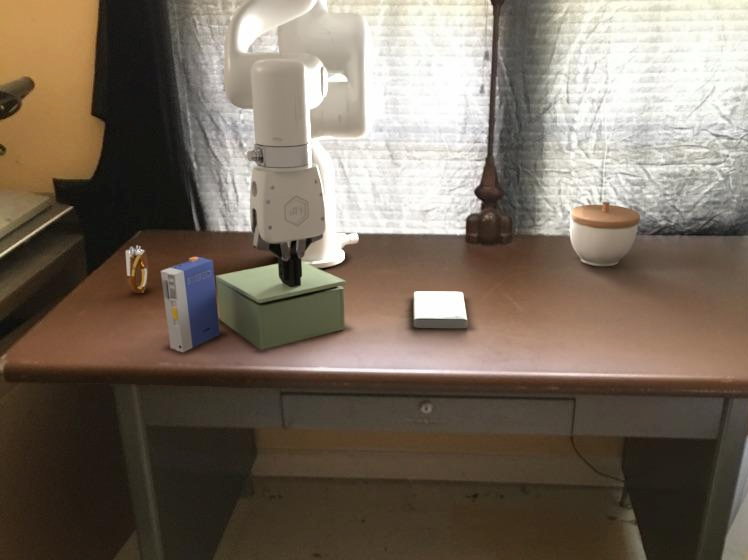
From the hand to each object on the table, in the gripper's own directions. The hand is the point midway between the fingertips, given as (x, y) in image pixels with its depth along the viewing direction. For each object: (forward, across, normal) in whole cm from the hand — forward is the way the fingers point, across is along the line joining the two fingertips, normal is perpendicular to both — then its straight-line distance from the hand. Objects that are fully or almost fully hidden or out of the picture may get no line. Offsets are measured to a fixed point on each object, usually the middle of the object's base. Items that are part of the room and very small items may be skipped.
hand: (290, 283), depth 124 cm
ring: (+8, -13, +30) cm, 34 cm away
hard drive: (+8, +23, -6) cm, 25 cm away
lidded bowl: (+8, +65, -1) cm, 66 cm away
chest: (+8, 0, +4) cm, 9 cm away
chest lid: (+1, 0, +4) cm, 4 cm away
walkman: (+8, -14, +5) cm, 17 cm away
